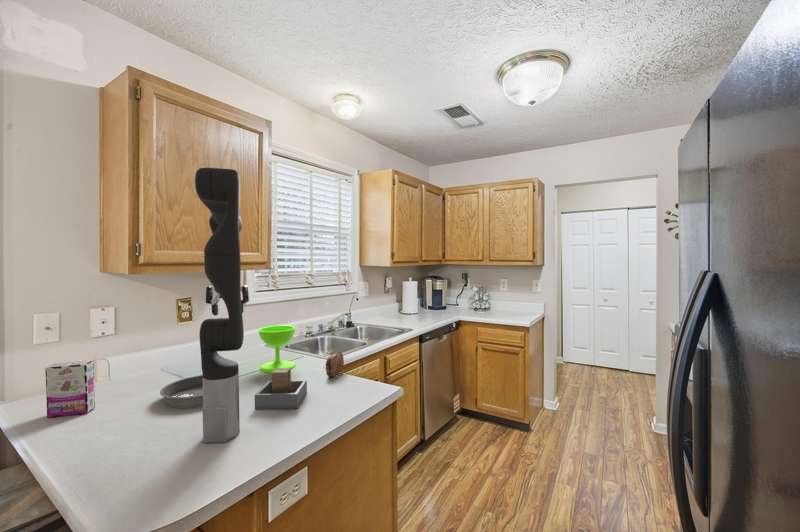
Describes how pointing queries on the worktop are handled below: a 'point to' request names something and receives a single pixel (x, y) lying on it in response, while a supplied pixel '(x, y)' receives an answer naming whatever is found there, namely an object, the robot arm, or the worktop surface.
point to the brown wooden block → (281, 380)
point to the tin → (334, 364)
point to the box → (281, 396)
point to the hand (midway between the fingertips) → (227, 315)
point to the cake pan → (184, 392)
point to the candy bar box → (70, 389)
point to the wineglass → (276, 345)
